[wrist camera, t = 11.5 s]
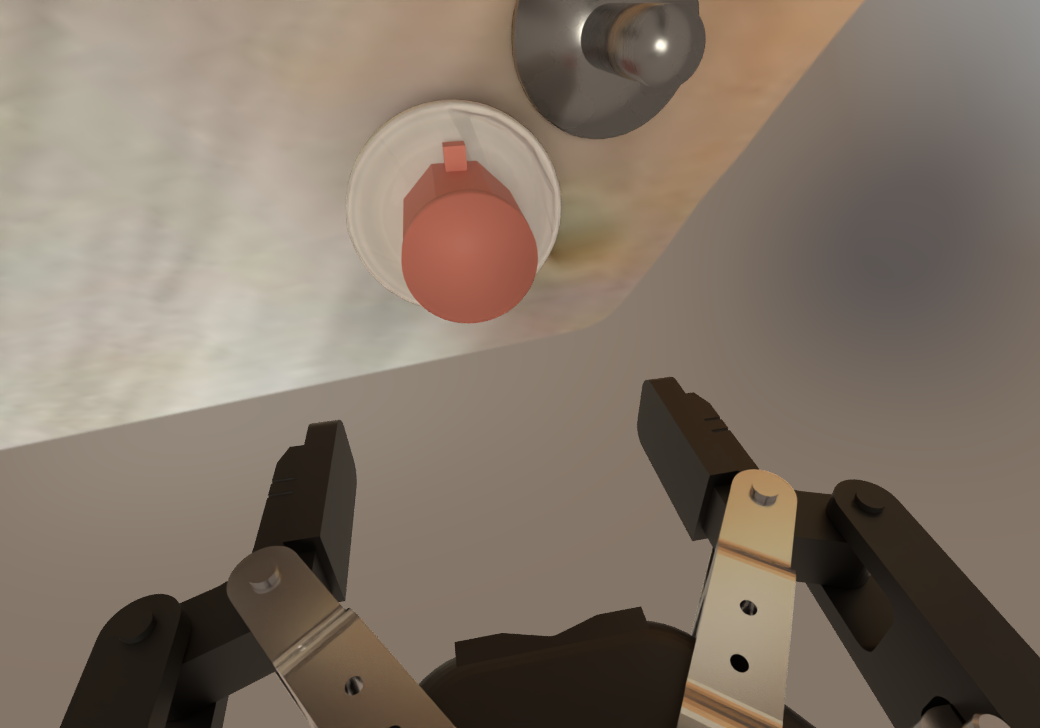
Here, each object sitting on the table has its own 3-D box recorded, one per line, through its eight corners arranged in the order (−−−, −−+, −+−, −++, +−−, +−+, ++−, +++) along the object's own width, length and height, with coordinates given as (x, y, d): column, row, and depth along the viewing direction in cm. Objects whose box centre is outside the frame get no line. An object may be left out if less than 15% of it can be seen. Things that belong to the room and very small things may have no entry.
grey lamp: (479, 82, 29) (504, 108, 21) (573, -135, 24) (644, -195, 17) (624, 164, 33) (687, 211, 25) (726, -10, 28) (838, -14, 21)
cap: (390, 142, 25) (386, 177, 20) (511, 134, 26) (536, 165, 21) (413, 288, 29) (415, 347, 24) (516, 277, 30) (538, 332, 25)
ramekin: (577, 157, 32) (603, 181, 28) (482, 302, 36) (492, 342, 32) (409, 39, 27) (409, 46, 23) (323, 222, 32) (310, 257, 27)
